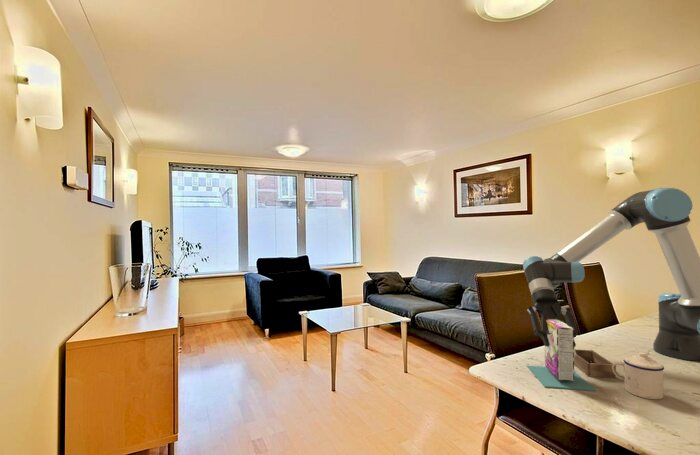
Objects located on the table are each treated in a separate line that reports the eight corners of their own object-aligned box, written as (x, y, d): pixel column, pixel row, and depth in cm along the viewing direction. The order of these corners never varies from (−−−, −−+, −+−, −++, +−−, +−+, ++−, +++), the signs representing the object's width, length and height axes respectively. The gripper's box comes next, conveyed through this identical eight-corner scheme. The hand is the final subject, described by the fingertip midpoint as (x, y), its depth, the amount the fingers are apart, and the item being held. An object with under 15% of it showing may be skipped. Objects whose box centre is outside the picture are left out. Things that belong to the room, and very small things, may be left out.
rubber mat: (570, 369, 117) (570, 368, 117) (595, 390, 102) (595, 389, 102) (527, 366, 120) (527, 365, 120) (544, 387, 104) (544, 386, 104)
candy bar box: (543, 366, 117) (543, 318, 117) (559, 367, 116) (559, 318, 116) (557, 380, 106) (556, 327, 106) (575, 381, 105) (574, 328, 105)
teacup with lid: (667, 393, 100) (666, 353, 100) (661, 403, 94) (660, 361, 94) (616, 379, 109) (616, 343, 109) (607, 388, 103) (607, 349, 103)
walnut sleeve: (592, 361, 125) (592, 350, 125) (615, 377, 111) (615, 365, 111) (567, 359, 126) (567, 349, 126) (587, 376, 112) (587, 363, 112)
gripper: (567, 300, 125) (591, 363, 108) (513, 299, 128) (529, 359, 111) (574, 288, 119) (600, 352, 103) (518, 287, 122) (535, 349, 106)
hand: (563, 356), depth 107 cm, fingers open, 5 cm apart
